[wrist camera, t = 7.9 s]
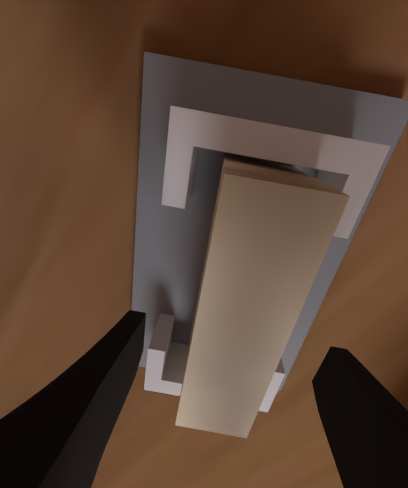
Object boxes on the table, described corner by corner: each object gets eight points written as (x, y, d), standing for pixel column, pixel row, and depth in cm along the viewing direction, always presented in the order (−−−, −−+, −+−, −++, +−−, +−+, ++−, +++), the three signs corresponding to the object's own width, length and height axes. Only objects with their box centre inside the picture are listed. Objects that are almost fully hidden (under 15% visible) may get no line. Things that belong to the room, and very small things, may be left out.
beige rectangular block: (191, 332, 17) (175, 425, 12) (224, 153, 12) (223, 173, 7) (239, 341, 17) (246, 438, 12) (294, 166, 12) (350, 196, 7)
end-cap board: (133, 353, 20) (113, 403, 16) (150, 57, 12) (116, 24, 8) (277, 380, 20) (288, 435, 16) (401, 103, 12) (482, 91, 8)
